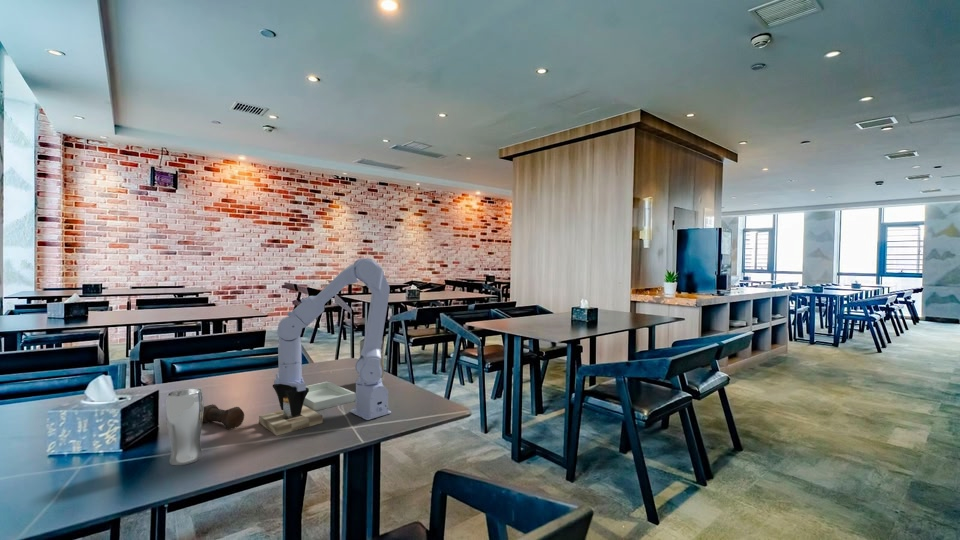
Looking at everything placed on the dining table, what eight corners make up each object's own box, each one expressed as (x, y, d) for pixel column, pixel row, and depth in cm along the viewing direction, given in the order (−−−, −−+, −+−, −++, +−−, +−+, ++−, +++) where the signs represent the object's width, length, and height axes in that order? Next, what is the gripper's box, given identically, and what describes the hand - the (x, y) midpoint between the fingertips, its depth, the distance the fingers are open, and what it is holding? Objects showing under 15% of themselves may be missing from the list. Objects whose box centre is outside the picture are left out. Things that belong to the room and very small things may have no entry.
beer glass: (163, 459, 97) (162, 391, 97) (200, 449, 102) (199, 385, 102) (170, 470, 92) (168, 399, 92) (208, 459, 97) (207, 391, 97)
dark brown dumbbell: (202, 424, 123) (238, 431, 116) (186, 420, 119) (222, 428, 112) (212, 403, 125) (247, 409, 119) (196, 399, 121) (232, 405, 115)
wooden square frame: (322, 422, 119) (322, 415, 119) (276, 435, 110) (276, 427, 110) (303, 411, 127) (303, 404, 127) (259, 422, 118) (259, 415, 118)
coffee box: (378, 388, 150) (377, 340, 150) (359, 387, 150) (359, 340, 150) (384, 380, 159) (384, 336, 159) (366, 380, 159) (366, 336, 159)
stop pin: (300, 422, 119) (300, 397, 118) (286, 426, 116) (286, 400, 116) (294, 419, 121) (294, 394, 121) (281, 422, 118) (281, 397, 118)
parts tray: (355, 400, 137) (355, 392, 137) (314, 411, 127) (314, 402, 127) (328, 388, 149) (327, 381, 149) (289, 397, 140) (289, 389, 140)
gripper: (264, 359, 120) (265, 409, 121) (285, 369, 110) (286, 423, 110) (290, 355, 125) (291, 403, 126) (313, 364, 115) (313, 416, 116)
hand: (290, 412), depth 118 cm, fingers open, 6 cm apart
